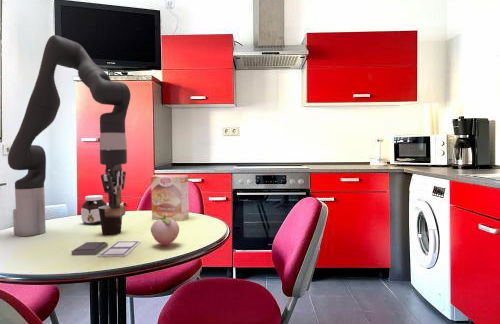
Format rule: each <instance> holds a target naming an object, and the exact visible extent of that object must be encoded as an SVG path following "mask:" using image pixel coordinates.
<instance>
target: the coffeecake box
mask: <svg viewBox="0 0 500 324" xmlns="http://www.w3.org/2000/svg"><path fill="white" fill-rule="evenodd" d="M150 177H151V178H150V180H151V183H150V184H151V189H150V190H151V220H155V221H156V220H158V219H159V218H162V217H164V215H165V218H169V219H173V220H176V222H178V221H179V222H183V221H184V219H185V220H188V219H189V218H190V217H189V216H190V214H189V213H190V212H189V206H190V205H189V175H182V174H181V175H180V174H179V175H177V174H165V175H164V174H155V175H151V176H150ZM182 220H183V221H182Z"/></svg>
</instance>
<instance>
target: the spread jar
mask: <svg viewBox="0 0 500 324" xmlns="http://www.w3.org/2000/svg"><path fill="white" fill-rule="evenodd" d="M106 205H108V204H107V202H106V201H105V200H104V195H101V194H98V195H97V194H95V195H86V196H85V198H84V202H83V203H82V205H81V206H80V207H81V208H80V215H81V221H82V222H83V223H84V225H86V226H98V225H101V221H100V215H99V209H98V207H101V206H106Z"/></svg>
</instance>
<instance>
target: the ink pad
mask: <svg viewBox="0 0 500 324" xmlns="http://www.w3.org/2000/svg"><path fill="white" fill-rule="evenodd" d="M108 244H109V243H108V242H107V241H92V242H91V241H88V242H87V241H86V242H84V243H83V244H81V245H79V246H78V247H76V248H75V249H73V250H71V256H92V255H93V256H94V255H97V254H100V252H101V251H103V250H104V249H107V247H109V245H108Z"/></svg>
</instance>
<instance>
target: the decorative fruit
mask: <svg viewBox="0 0 500 324" xmlns="http://www.w3.org/2000/svg"><path fill="white" fill-rule="evenodd" d="M150 233H151V235H152V237H153V239H154V240H155V241H156V242H157V243H158V244H160V245H162V246H164V247H167V246H169V244H172V243H173V242H174V241H175V240H176V239H177V238H178V235H179V233H180V226H179V224H178V221H175V220H173V219H169V218H165V215H164V217H162V218H159V219H158V220H156V219H155V221H154V222H153V223H152V224H151V227H150Z"/></svg>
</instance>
